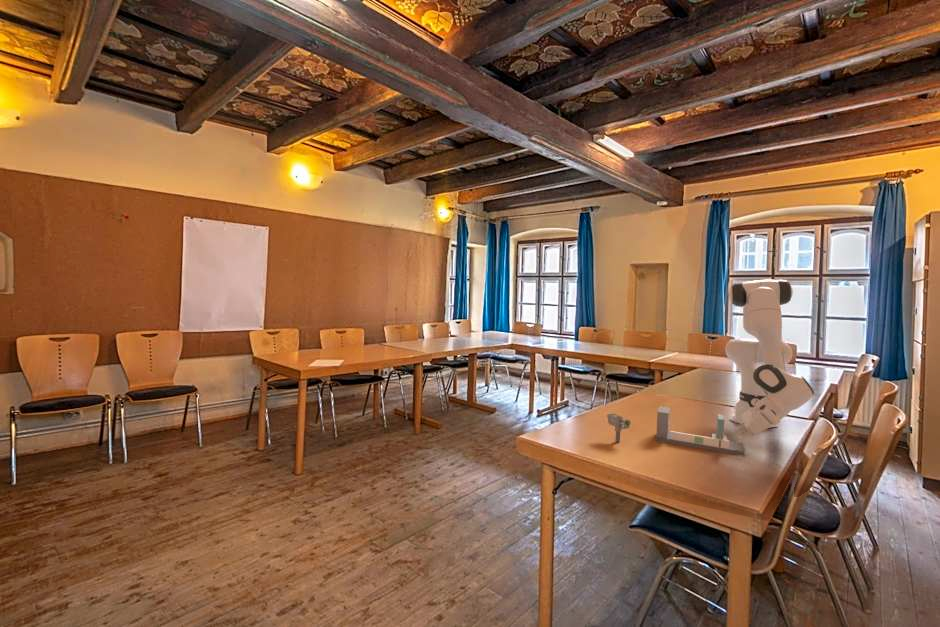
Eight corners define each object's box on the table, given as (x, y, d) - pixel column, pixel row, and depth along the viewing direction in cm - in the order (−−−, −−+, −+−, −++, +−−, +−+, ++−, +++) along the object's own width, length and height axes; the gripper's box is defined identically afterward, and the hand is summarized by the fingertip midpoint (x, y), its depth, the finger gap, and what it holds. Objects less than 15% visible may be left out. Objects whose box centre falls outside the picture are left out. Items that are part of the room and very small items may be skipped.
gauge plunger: (711, 438, 172) (713, 413, 172) (726, 440, 170) (727, 415, 170) (712, 446, 163) (713, 419, 163) (727, 448, 161) (729, 422, 161)
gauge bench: (658, 432, 183) (659, 405, 183) (742, 446, 169) (743, 417, 169) (655, 440, 173) (657, 412, 172) (744, 456, 159) (746, 425, 158)
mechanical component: (624, 446, 165) (626, 420, 164) (605, 438, 174) (606, 413, 174) (630, 445, 166) (631, 419, 166) (610, 437, 175) (611, 412, 175)
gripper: (758, 398, 170) (728, 418, 175) (765, 409, 152) (731, 432, 157) (771, 411, 168) (740, 431, 173) (780, 424, 150) (744, 446, 155)
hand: (736, 432), depth 165 cm, fingers closed
